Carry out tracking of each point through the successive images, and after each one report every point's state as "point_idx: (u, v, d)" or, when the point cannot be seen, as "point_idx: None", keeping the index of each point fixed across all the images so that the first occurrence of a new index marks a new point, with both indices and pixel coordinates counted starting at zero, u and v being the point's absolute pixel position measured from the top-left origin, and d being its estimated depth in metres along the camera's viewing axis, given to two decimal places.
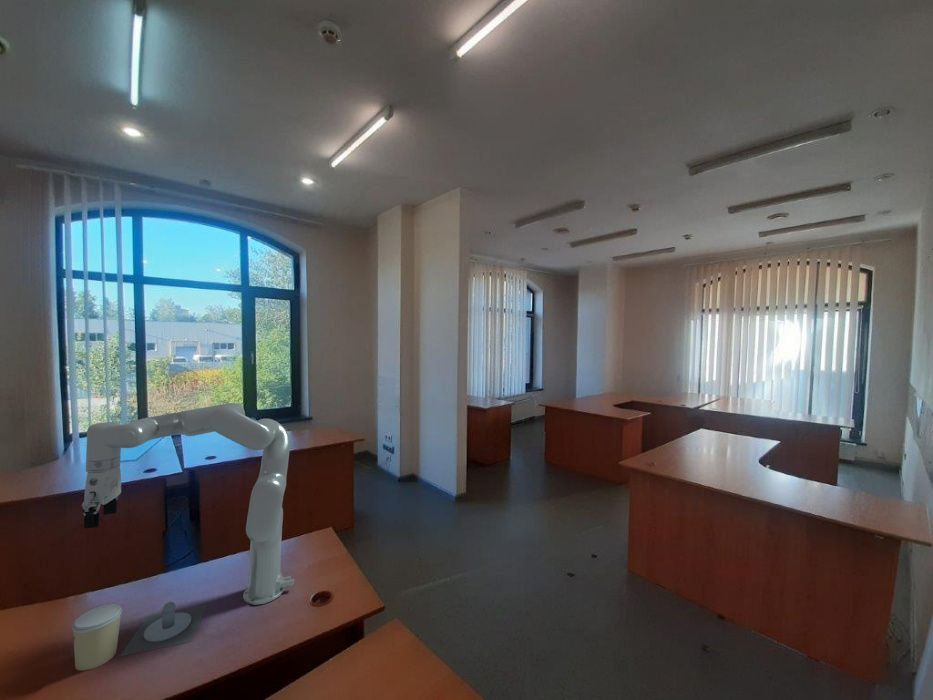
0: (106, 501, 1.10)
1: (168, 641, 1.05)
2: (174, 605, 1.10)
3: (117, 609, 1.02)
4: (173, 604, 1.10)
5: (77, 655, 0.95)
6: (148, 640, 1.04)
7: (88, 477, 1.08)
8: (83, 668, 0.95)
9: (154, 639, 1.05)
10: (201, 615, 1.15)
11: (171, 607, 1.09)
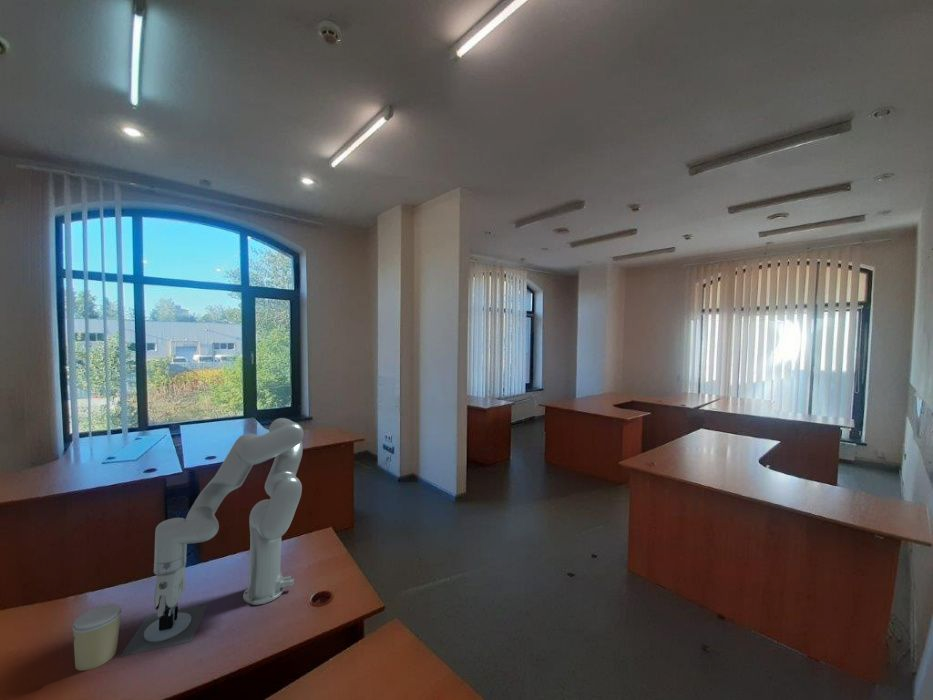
0: (175, 603, 1.07)
1: (168, 641, 1.05)
2: None
3: (117, 609, 1.02)
4: None
5: (77, 655, 0.95)
6: (148, 640, 1.04)
7: (158, 580, 1.05)
8: (83, 668, 0.95)
9: (154, 639, 1.05)
10: (201, 615, 1.15)
11: None
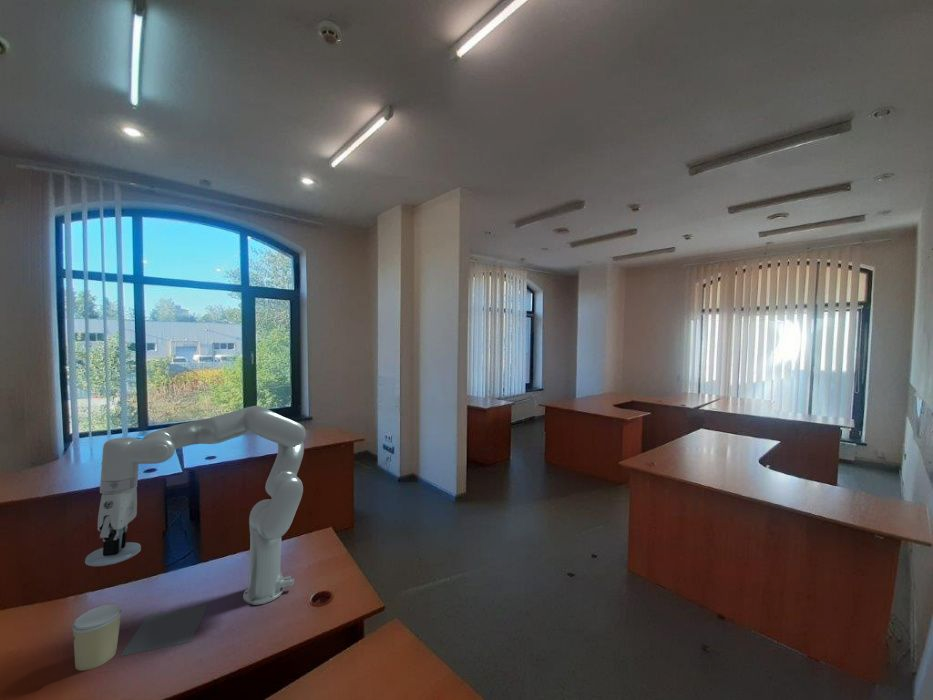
0: (121, 526, 0.99)
1: (168, 641, 1.05)
2: (121, 530, 1.02)
3: (117, 609, 1.02)
4: (120, 529, 1.01)
5: (77, 655, 0.95)
6: (89, 563, 0.96)
7: (103, 499, 0.97)
8: (83, 668, 0.95)
9: (96, 563, 0.96)
10: (201, 615, 1.15)
11: None
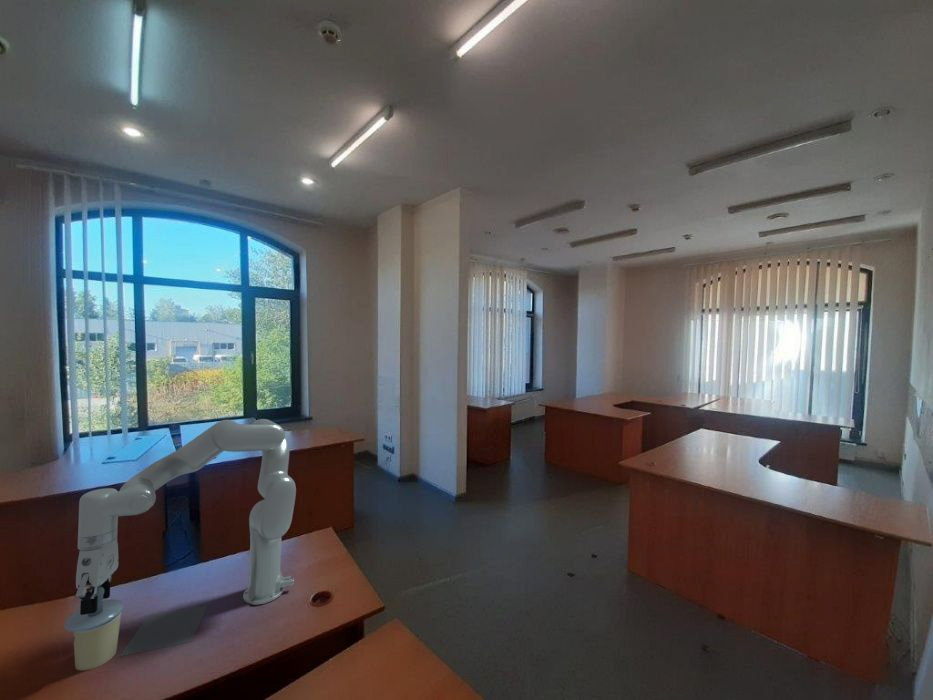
0: (101, 582, 0.96)
1: (168, 641, 1.05)
2: (102, 590, 0.99)
3: None
4: (101, 589, 0.99)
5: (77, 655, 0.95)
6: (69, 629, 0.93)
7: (80, 556, 0.94)
8: (83, 668, 0.95)
9: (75, 628, 0.93)
10: (201, 615, 1.15)
11: (98, 592, 0.98)
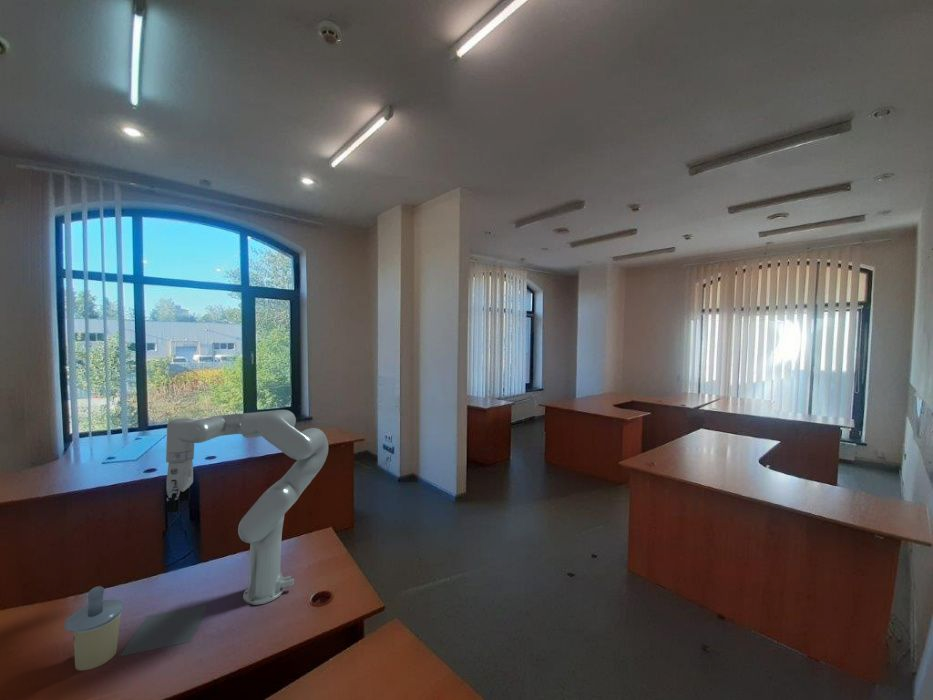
0: (184, 488, 1.23)
1: (168, 641, 1.05)
2: (102, 590, 0.99)
3: None
4: (101, 589, 0.99)
5: (77, 655, 0.95)
6: (68, 629, 0.93)
7: (169, 467, 1.21)
8: (83, 668, 0.95)
9: (75, 628, 0.93)
10: (201, 615, 1.15)
11: (98, 592, 0.98)
